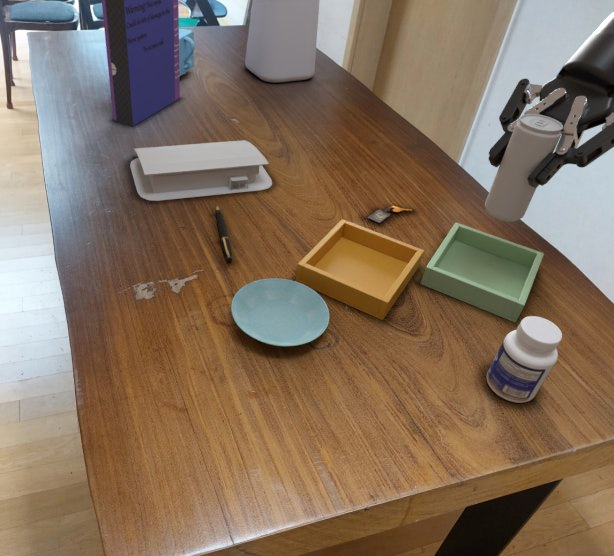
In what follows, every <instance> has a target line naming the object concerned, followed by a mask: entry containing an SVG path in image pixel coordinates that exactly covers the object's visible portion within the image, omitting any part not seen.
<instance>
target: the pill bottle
mask: <svg viewBox="0 0 614 556" xmlns="http://www.w3.org/2000/svg"><path fill="white" fill-rule="evenodd" d="M562 339H563V334H562V331H561V329H560V328H559V326H557V325H556V323H554V322H553V321H551V320H549V319H547V318H544V317H541V316H538V315H537V316H536V315H535V316H534V315H528V316H526V317H524V318H522V320H521V321H520V323H519V324H518V326H517V327H516V329H514V330H511V331H510V332H509V333H506V335H505V337H504V339H503V341H502V343H501V345H500V346H499V349H498V350H497V352H496V355H494V359H493V360H492V363H491V364H490V366H489V368H488V370H487V372H486V381H487V384H488V386H489V388H490V389H491V390H492V392H494V393H495V395H497V396H498V397H500V398H501V399H504V400H506V401H509V402H511V403H516V404H517V403H519V404H523V403H528V402H530V401H532V400H533V399H534V398H535V397H536V395H537V394H538V392H539V391H540V389H541V387H542V386H543V385H544V382H545V381H546V379H547V378H548V376H549V375H550V373H551V371H552V370H553V368H554V367H555V365H556V363H557V361H558V358H559V352H558V349H557V348H558V347H559V344H560V343H561V341H562Z"/></svg>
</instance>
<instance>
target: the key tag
mask: <svg viewBox="0 0 614 556" xmlns="http://www.w3.org/2000/svg"><path fill="white" fill-rule="evenodd" d="M389 212H393V213H397V214H398V213H400V212H413V208H403V207H401V206H397V205H391V206H389V207H386V208H385V209H384V210H382V209H377V210H375V211H374V212H373V213H372V214H370V215H369V216H367V219H368V220H370V221H373V222H374V223H376V224H381V223H382V222H384V221H385V220H386V219H388V218H389V217H390V216H391V215H392V214H391V213H389Z"/></svg>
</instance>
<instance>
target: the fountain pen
mask: <svg viewBox="0 0 614 556" xmlns="http://www.w3.org/2000/svg"><path fill="white" fill-rule="evenodd" d="M215 214H216V220H217V221H216V222H217V226H218V232H219V237H220V243H221V247H222V250H223V253H224V257H225V258H226V260H227V261H228V262H229V263H230V262H232V261H233V250H232V245H231V239H230V237H229V235H228V230H227V227H226V224H225V220H224V216H223V214H222V211H221V209H220V208H219V206H218V205H216V207H215Z"/></svg>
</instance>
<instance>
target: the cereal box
mask: <svg viewBox="0 0 614 556" xmlns="http://www.w3.org/2000/svg"><path fill="white" fill-rule="evenodd" d="M101 8H102V18H103V27H104V38H105V49H106V60H107V68H108V70H107V71H108V78H109V81H108V82H109V89H110V100H111V107H112V108H111V110H112V121H113V122H116V123H121V124H124V125H127V126H130V127H135V126H137V125H138V124H139V123H141V122H143V121H145V120H147V119H149V118H150V117H152V116H154V115H155V114H156V113H159V112H160V111H162V110H163V109H165V108H167V107H169V106H170V105H172V104H174V103H175V102H177V101H179V100H181V85H180V82H181V81H180V77H181V76H180V74H179V28H180V23H179V22H180V21H179V18H180V15H179V0H101Z"/></svg>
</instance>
